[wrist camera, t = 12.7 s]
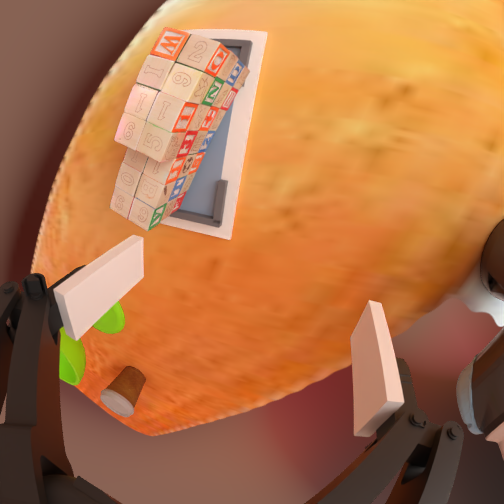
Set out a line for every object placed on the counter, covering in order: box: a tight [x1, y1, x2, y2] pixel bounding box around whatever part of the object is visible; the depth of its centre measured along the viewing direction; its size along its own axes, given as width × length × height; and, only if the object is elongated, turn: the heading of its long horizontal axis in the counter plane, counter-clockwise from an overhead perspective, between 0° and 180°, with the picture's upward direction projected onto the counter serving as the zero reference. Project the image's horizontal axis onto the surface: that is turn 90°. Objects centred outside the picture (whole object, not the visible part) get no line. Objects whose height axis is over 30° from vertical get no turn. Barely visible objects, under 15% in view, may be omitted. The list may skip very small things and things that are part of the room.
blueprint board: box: [160, 29, 268, 240], centre depth 33 cm, size 14×30×2 cm, turn 170°
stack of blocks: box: [110, 27, 250, 231], centre depth 27 cm, size 21×6×12 cm, turn 152°
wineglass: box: [59, 301, 125, 385], centre depth 46 cm, size 16×16×18 cm
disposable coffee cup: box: [100, 366, 146, 417], centre depth 57 cm, size 10×10×12 cm
